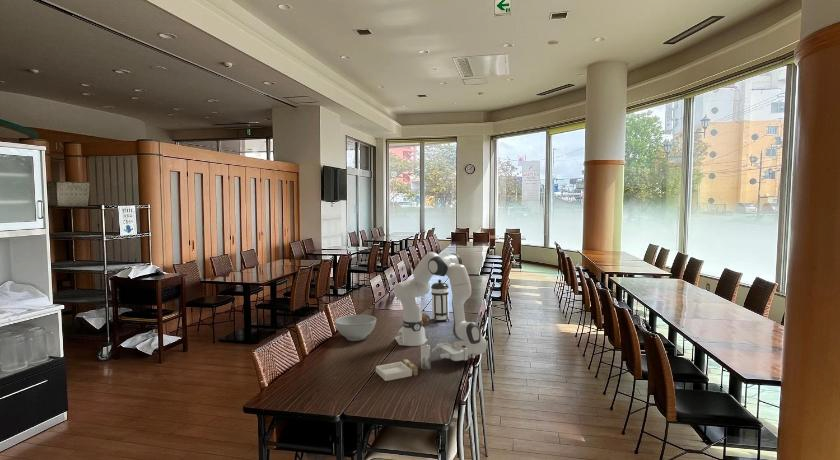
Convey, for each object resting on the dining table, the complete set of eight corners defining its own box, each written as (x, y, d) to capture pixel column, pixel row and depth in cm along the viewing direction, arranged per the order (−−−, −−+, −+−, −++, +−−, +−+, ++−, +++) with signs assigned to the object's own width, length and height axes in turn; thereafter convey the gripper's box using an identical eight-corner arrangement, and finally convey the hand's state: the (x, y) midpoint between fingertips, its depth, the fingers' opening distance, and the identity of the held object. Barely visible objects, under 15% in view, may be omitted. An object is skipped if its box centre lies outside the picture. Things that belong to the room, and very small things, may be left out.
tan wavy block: (403, 366, 242) (402, 359, 242) (406, 366, 243) (406, 358, 243) (413, 375, 230) (413, 367, 230) (417, 374, 231) (417, 367, 230)
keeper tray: (375, 371, 236) (375, 366, 236) (401, 367, 242) (401, 361, 242) (385, 381, 224) (385, 375, 223) (412, 375, 229) (411, 370, 229)
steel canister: (419, 367, 242) (419, 344, 241) (428, 365, 244) (427, 343, 243) (423, 370, 237) (423, 347, 236) (432, 368, 239) (431, 345, 238)
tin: (409, 327, 321) (409, 315, 320) (408, 326, 324) (408, 314, 324) (430, 325, 325) (429, 313, 324) (428, 324, 328) (428, 312, 328)
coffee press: (425, 320, 338) (424, 280, 336) (440, 316, 349) (439, 277, 347) (442, 324, 326) (441, 282, 324) (457, 320, 337) (456, 279, 335)
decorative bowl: (382, 333, 307) (382, 315, 307) (367, 345, 282) (367, 325, 281) (345, 331, 315) (345, 313, 314) (327, 343, 289) (327, 323, 288)
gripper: (449, 339, 258) (427, 342, 252) (468, 349, 239) (445, 353, 233) (450, 350, 258) (427, 354, 252) (469, 361, 239) (445, 365, 234)
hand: (436, 353), depth 243 cm, fingers open, 8 cm apart
